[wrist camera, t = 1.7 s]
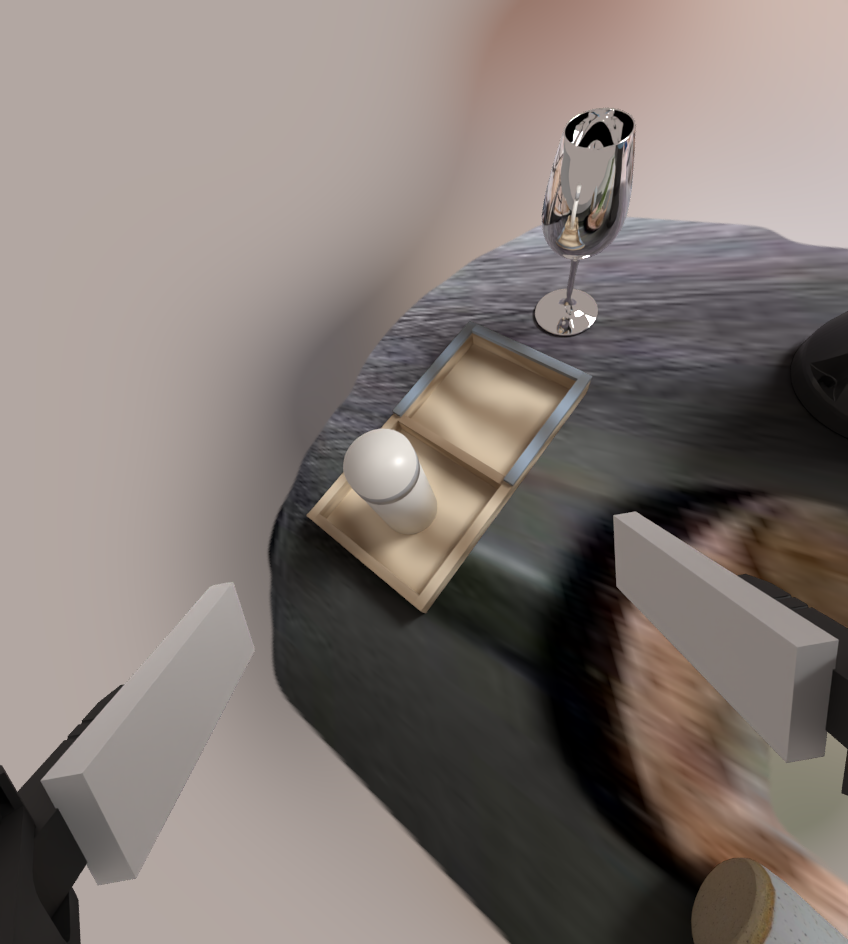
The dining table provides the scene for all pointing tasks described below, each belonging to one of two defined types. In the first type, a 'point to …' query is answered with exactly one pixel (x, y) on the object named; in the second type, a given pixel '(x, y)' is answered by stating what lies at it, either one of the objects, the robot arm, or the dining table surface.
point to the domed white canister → (391, 480)
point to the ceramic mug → (755, 909)
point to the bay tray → (459, 456)
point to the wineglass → (585, 207)
